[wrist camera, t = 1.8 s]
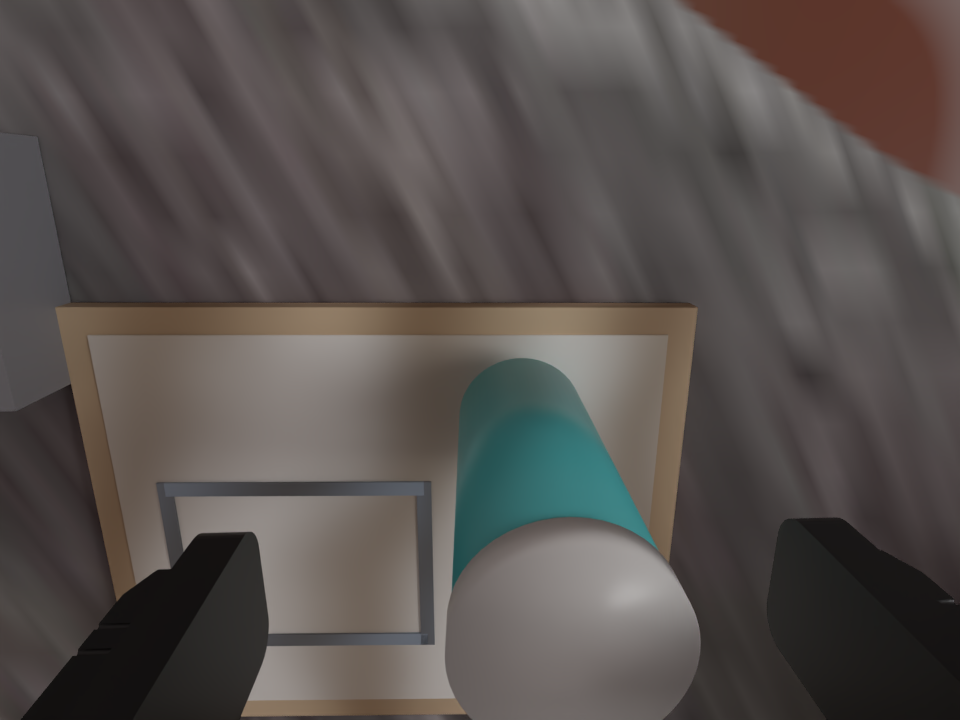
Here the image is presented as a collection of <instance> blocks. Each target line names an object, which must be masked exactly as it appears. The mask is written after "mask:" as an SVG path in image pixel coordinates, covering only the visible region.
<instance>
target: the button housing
mask: <svg viewBox="0 0 960 720" xmlns="http://www.w3.org/2000/svg"><path fill="white" fill-rule="evenodd" d="M68 303H71V301H70V296H69V291H68V286H67V281H66V276H65V271H64V266H63V261H62V256H61V251H60V246H59V241H58V236H57V231H56V226H55V221H54V216H53V211H52V206H51V201H50V196H49V191H48V187H47V182H46V177H45V172H44V167H43V162H42V157H41V152H40V147H39V142H38V137H37V136H28V135H19V134H10V133H0V411H18V410H20V409H22V408H24V407H26V406H28V405H30V404H32V403H34V402H36V401H38V400H40V399H42V398H44V397H46V396H48V395H50V394H52V393H54V392H56V391H58V390H60V389H62V388H64V387H66V386H68V385H70V384H71V381H70V376H69V372H68V367H67V362H66V357H65V353H64V348H63V343H62V338H61V334H60V329H59V324H58V319H57V314H56V310H55V307H58V306H61V305H64V304H68Z"/></svg>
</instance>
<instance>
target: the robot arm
mask: <svg viewBox="0 0 960 720" xmlns="http://www.w3.org/2000/svg"><path fill="white" fill-rule="evenodd" d="M767 617H768V623H769V627H770V631H771V634H772V637H773V639H774V641H775V643H776V645H777V647H778V649H779V650H780V652H781V653H782V655H783V656H784V658H785V659H786V660H787V662H788V663H789V665H790V666H791V668H792V669H793V671H794V672H795V674H796V675H797V676H798V678H799V679H800V681H801V682H802V684H803V685H804V687H805V688H806V690H807V691H808V692H809V694H810V695H811V697H812V698H813V700H814V701H815V703H816V704H817V706H818V707H819V709H820V710H821V711H822V713H823V714H824V716H825V717H826V719H827V720H960V605H956V604H955V603H954V599H953V598H952V597H951V596H950V595H948V594H947V593H946V592H945V591H944V590H943V589H941V588H940V587H939V586H938V585H937V584H935V583H934V582H933V581H932V580H931V579H929V578H928V577H927V576H926V575H925V574H923V573H922V572H921V571H919V570H917V569H915V568H913V567H911V566H910V565H908V564H906V563H904V562H902V561H900V560H899V559H897V558H895V557H893V556H891V555H889V554H887V553H886V552H884V551H882V550H881V551H880V550H878V549H877V548H876V547H875V546H874V545H873V544H872V543H870V542H869V541H868V540H867V539H866V538H865V537H864V536H862V535H861V534H860V533H859V532H858V531H857V530H856V529H854V528H853V527H852V526H851V525H850V524H849V523H847V522H846V521H845V520H843V519H841V518H800V519H787V520H785V521H784V522H783V523H782V524H781V526H780V529H779V532H778V537H777V544H776V550H775V556H774V562H773V568H772V575H771V581H770V587H769V593H768V600H767ZM268 633H269V618H268V609H267V602H266V595H265V587H264V580H263V573H262V565H261V558H260V550H259V544H258V540H257V537H256V535H255V534H254V533H253V532H219V533H200V534H198V535H197V536H196V537H195V538H194V539H193V540H192V541H191V543H190V544H189V545H188V547H187V548H186V549H185V551H184V552H183V554H182V555H181V556H180V558H179V559H178V560H177V562H176V563H175V564H174V566H173V567H172V568H171V569H158V570H156V571H155V572H153V573H152V574H151V575H149V576H148V577H146V578H145V579H144V580H142V581H141V582H139V583H138V584H137V585H135V586H134V587H133V588H131V589H130V590H128V591H127V592H126V593H124V594H123V595H122V596H121V597H120V599H119V600H118V601H117V602H116V604H115V605H114V606H113V607H112V608H111V610H110V611H109V612H108V613H107V615H106V616H105V617H104V618H103V620H102V621H101V622H100V623H99V628H98V630H94V631H93V632H92V633H91V634H90V635H89V637H88V638H87V639H86V640H85V642H84V643H83V644H82V645H81V646H80V648H79V649H78V654H77V656H72V658H71V659H70V660H69V661H68V662H67V664H66V665H65V666H64V667H63V669H62V670H61V671H60V672H59V673H58V675H57V676H56V677H55V678H54V680H53V681H52V682H51V683H50V684H49V686H48V687H47V688H46V689H45V691H44V692H43V693H42V694H41V696H40V697H39V698H38V699H37V700H36V702H35V703H34V704H33V705H32V707H31V708H30V709H29V710H28V711H27V713H26V714H25V715H24V716H23V718H22V719H21V720H240V717H241V715H242V712H243V710H244V707H245V705H246V703H247V700H248V698H249V695H250V693H251V690H252V688H253V685H254V683H255V680H256V678H257V676H258V673H259V671H260V668H261V666H262V663H263V660H264V657H265V653H266V648H267V642H268Z"/></svg>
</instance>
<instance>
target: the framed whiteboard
mask: <svg viewBox="0 0 960 720" xmlns="http://www.w3.org/2000/svg"><path fill="white" fill-rule="evenodd" d="M55 310H56V314H57V319H58V324H59V329H60V334H61V338H62V343H63V348H64V353H65V357H66V362H67V367H68V372H69V376H70V381H71V386H72V391H73V396H74V400H75V405H76V410H77V415H78V419H79V424H80V429H81V434H82V438H83V443H84V448H85V453H86V458H87V462H88V467H89V472H90V477H91V481H92V486H93V491H94V496H95V500H96V505H97V510H98V515H99V519H100V524H101V529H102V534H103V539H104V543H105V548H106V553H107V558H108V562H109V567H110V572H111V577H112V581H113V586H114V591H115V596H116V601H118V600H119V599H120V597H121V596H122V595H123V594H124V593H126V592H127V591H128V590H130V589H131V588H133V587H134V586H135V585H137V584H138V583H139V582H141V581H142V580H144V579H145V578H146V577H148V576H149V575H151V574H152V573H153V572H155V571H156V570H158V569H171V568H172V567H173V566H174V564H175V563H176V562H177V560H178V559H179V558H180V556H181V555H182V554H183V552H184V551H185V549H186V548H187V547H188V545H189V544H190V543H191V541H192V540H193V539H194V538H195V537H196V536H197V535H198V534H200V533H219V532H253V533H254V534H255V535H256V537H257V540H258V544H259V550H260V558H261V565H262V573H263V580H264V587H265V595H266V602H267V609H268V618H269V633H268V642H267V648H266V653H265V657H264V660H263V663H262V666H261V668H260V671H259V673H258V676H257V678H256V680H255V683H254V685H253V688H252V690H251V693H250V695H249V698H248V700H247V703H246V705H245V707H244V710H243V712H242V715H241V716H333V715H426V714H467V713H466V712H465V711H464V710H463V709H462V707H461V706H460V704H459V703H458V701H457V699H456V698H455V696H454V694H453V692H452V689H451V687H450V685H449V681H448V677H447V674H446V667H445V641H446V622H447V608H448V604H449V599H450V596H451V593H452V573H453V550H454V527H455V504H456V482H457V459H458V436H459V415H460V406H461V402H462V399H463V396H464V394H465V392H466V390H467V388H468V386H469V385H470V384H471V382H472V381H473V380H474V379H475V378H476V377H477V376H478V375H479V374H480V373H481V372H482V371H484V370H485V369H487V368H488V367H490V366H492V365H494V364H496V363H498V362H502V361H505V360H509V359H515V358H529V359H535V360H539V361H542V362H545V363H548V364H550V365H552V366H554V367H555V368H557V369H558V370H560V371H561V372H562V373H563V374H564V375H566V377H567V378H568V379H569V380H570V381H571V383H572V384H573V386H574V387H575V389H576V391H577V393H578V395H579V397H580V399H581V401H582V403H583V405H584V406H585V408H586V410H587V412H588V414H589V416H590V418H591V420H592V422H593V424H594V426H595V428H596V430H597V432H598V434H599V436H600V438H601V440H602V442H603V443H604V445H605V447H606V449H607V451H608V453H609V455H610V457H611V459H612V461H613V463H614V465H615V467H616V469H617V471H618V473H619V475H620V477H621V478H622V480H623V482H624V484H625V486H626V488H627V490H628V492H629V494H630V496H631V498H632V500H633V502H634V504H635V506H636V508H637V510H638V512H639V513H640V515H641V517H642V519H643V521H644V523H645V525H646V527H647V529H648V531H649V533H650V535H651V537H652V539H653V541H654V543H655V545H656V547H657V548H658V550H659V552H660V553H661V554H662V555H663V556H664V558H665V559H666V560H667V562H668V563H669V558H670V549H671V540H672V531H673V522H674V513H675V505H676V496H677V487H678V478H679V469H680V461H681V452H682V443H683V434H684V425H685V416H686V408H687V399H688V390H689V381H690V372H691V364H692V355H693V346H694V337H695V328H696V319H697V311H698V308H697V307H696V306H694V305H692V304H690V303H68V304H64V305H61V306H58V307H55Z"/></svg>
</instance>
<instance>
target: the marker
mask: <svg viewBox="0 0 960 720" xmlns="http://www.w3.org/2000/svg"><path fill="white" fill-rule="evenodd" d="M700 647H701V639H700V629H699V625H698V621H697V618H696V614H695V612H694V610H693V608H692V606H691V603H690V601H689V599H688V598H687V596H686V594H685V592H684V590H683V588H682V586H681V584H680V582H679V580H678V579H677V577H676V575H675V573H674V571H673V569H672V568H671V566H670V565H669V563H668V562H667V560H666V559H665V558H664V556H663V555H662V554H661V553H660V552H659V550H658V548H657V547H656V545H655V543H654V541H653V539H652V537H651V535H650V533H649V531H648V529H647V527H646V525H645V523H644V521H643V519H642V517H641V515H640V513H639V512H638V510H637V508H636V506H635V504H634V502H633V500H632V498H631V496H630V494H629V492H628V490H627V488H626V486H625V484H624V482H623V480H622V478H621V477H620V475H619V473H618V471H617V469H616V467H615V465H614V463H613V461H612V459H611V457H610V455H609V453H608V451H607V449H606V447H605V445H604V443H603V442H602V440H601V438H600V436H599V434H598V432H597V430H596V428H595V426H594V424H593V422H592V420H591V418H590V416H589V414H588V412H587V410H586V408H585V406H584V405H583V403H582V401H581V399H580V397H579V395H578V393H577V391H576V389H575V387H574V386H573V384H572V383H571V381H570V380H569V379H568V378H567V377H566V375H564V374H563V373H562V372H561V371H560V370H558V369H557V368H555V367H554V366H552V365H550V364H548V363H545V362H542V361H539V360H535V359H529V358H515V359H509V360H505V361H502V362H498V363H496V364H494V365H492V366H490V367H488V368H487V369H485V370H484V371H482V372H481V373H480V374H479V375H478V376H477V377H476V378H475V379H474V380H473V381H472V382H471V384H470V385H469V386H468V388H467V390H466V392H465V394H464V396H463V399H462V402H461V406H460V415H459V436H458V459H457V482H456V504H455V527H454V550H453V573H452V593H451V596H450V599H449V604H448V608H447V622H446V641H445V667H446V674H447V677H448V681H449V685H450V687H451V689H452V692H453V694H454V696H455V698H456V699H457V701H458V703H459V704H460V706H461V707H462V709H463V710H464V711H465V712H466V713H467V714H468V716H469V717H470V718H471V719H472V720H663V719H664V718H665V717H666V716H667V715H668V714H669V713H670V712H671V711H672V710H673V709H674V708H675V707H676V706H677V705H678V703H679V702H680V701H681V699H682V698H683V696H684V695H685V694H686V692H687V690H688V688H689V686H690V685H691V683H692V681H693V678H694V676H695V673H696V670H697V667H698V662H699V658H700Z"/></svg>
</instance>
